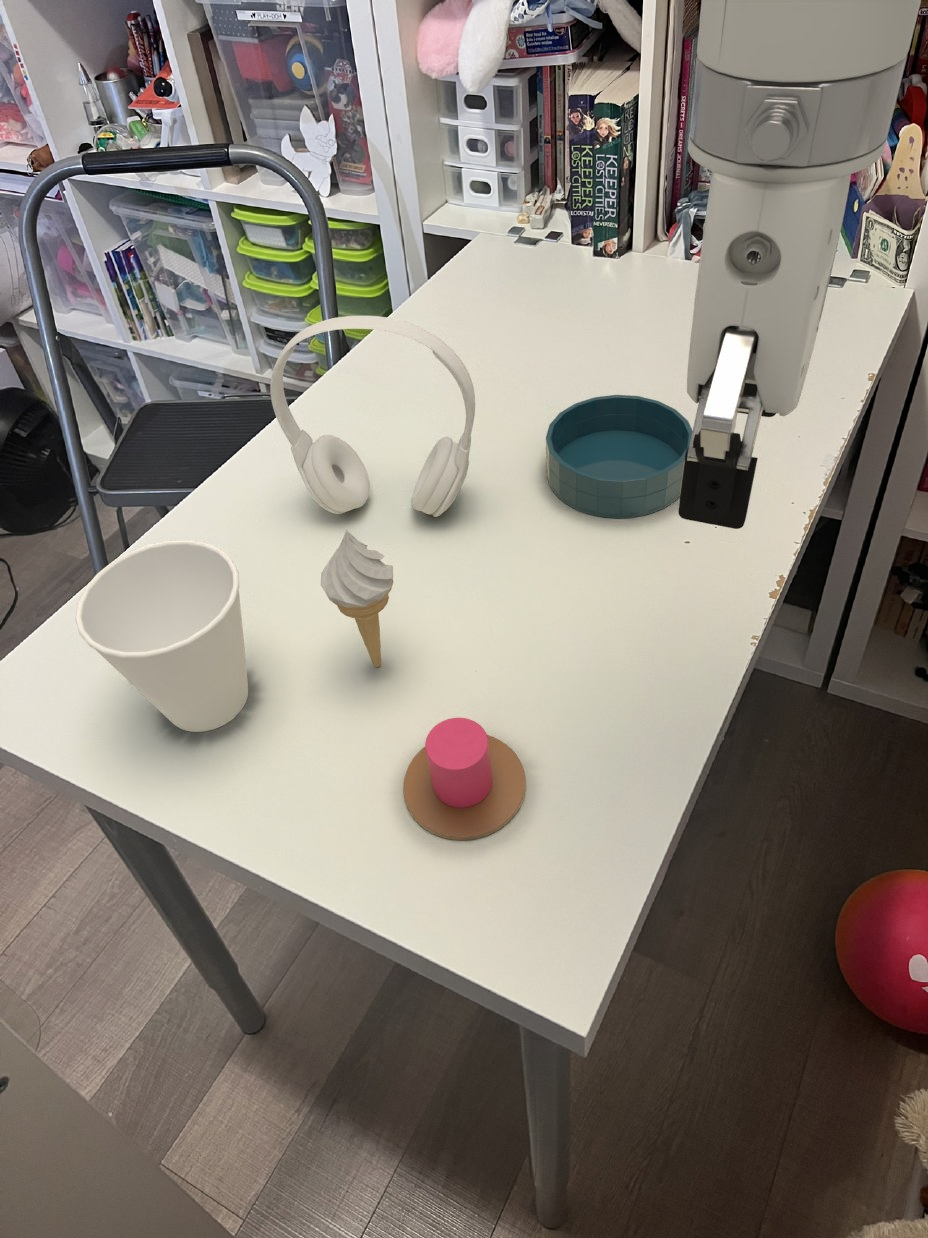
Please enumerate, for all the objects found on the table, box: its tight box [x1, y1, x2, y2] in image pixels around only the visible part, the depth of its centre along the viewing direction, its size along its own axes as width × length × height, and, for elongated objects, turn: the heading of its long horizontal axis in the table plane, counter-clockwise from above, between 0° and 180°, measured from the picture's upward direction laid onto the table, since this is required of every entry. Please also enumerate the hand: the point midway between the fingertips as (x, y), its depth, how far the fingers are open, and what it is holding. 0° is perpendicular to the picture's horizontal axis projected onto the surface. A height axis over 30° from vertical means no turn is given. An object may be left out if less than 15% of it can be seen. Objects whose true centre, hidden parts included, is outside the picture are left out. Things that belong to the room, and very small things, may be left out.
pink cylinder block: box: [424, 717, 492, 808], centre depth 63 cm, size 4×4×5 cm
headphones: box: [269, 315, 476, 518], centre depth 81 cm, size 7×18×20 cm, turn 82°
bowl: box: [545, 394, 693, 519], centre depth 87 cm, size 14×14×4 cm
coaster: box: [403, 734, 527, 841], centre depth 65 cm, size 9×9×1 cm
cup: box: [74, 539, 249, 733], centre depth 68 cm, size 12×12×12 cm
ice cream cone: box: [320, 529, 394, 668], centre depth 69 cm, size 6×6×15 cm
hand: (730, 462), depth 47 cm, fingers open, 9 cm apart
